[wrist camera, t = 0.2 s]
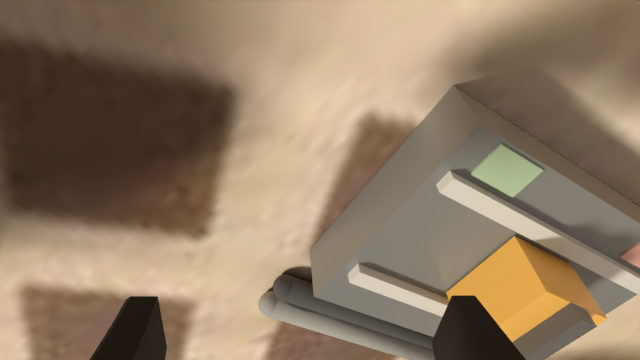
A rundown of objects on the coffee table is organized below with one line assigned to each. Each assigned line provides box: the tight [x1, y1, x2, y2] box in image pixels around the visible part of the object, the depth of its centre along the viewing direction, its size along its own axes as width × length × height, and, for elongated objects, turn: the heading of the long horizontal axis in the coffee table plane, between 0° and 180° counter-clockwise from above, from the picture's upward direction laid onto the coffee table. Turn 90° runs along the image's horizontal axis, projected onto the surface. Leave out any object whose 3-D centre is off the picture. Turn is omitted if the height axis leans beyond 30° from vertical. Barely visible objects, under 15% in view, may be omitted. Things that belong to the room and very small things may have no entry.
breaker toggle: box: [446, 236, 607, 360], centre depth 20 cm, size 4×4×4 cm
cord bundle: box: [259, 275, 435, 360], centre depth 28 cm, size 16×3×1 cm, turn 57°
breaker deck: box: [310, 86, 640, 337], centre depth 23 cm, size 15×11×4 cm
